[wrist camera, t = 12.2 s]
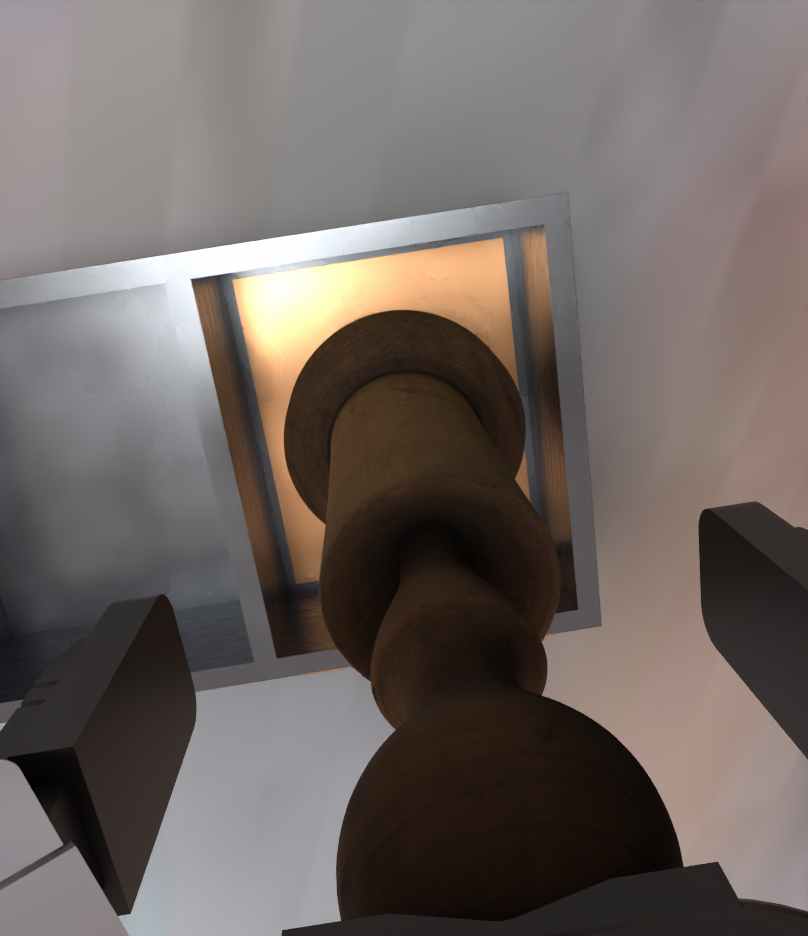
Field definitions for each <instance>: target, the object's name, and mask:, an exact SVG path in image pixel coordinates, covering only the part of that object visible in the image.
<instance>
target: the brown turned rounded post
mask: <svg viewBox="0 0 808 936" xmlns="http://www.w3.org/2000/svg"><path fill="white" fill-rule="evenodd" d="M525 439H526V421H525V414H524V408H523V404H522V400H521V397H520V394H519V391H518V389H517V386H516V384H515V382H514V380H513V379H512V377H511V375H510V373H509V372H508V370H507V369H506V367H505V366H504V365H503V363H502V362H501V361H500V360H499V358H498V357H497V356H496V355H495V354H494V353H493V352H492V351H491V350H490V349H489V347H488V346H487V345H486V344H485V343H484V342H483V341H482V340H480V339H479V338H478V337H477V336H476V335H474V334H473V333H472V332H470V331H469V330H468V329H466V328H465V327H463V326H461V325H459V324H458V323H456V322H454V321H452V320H449V319H447V318H444V317H442V316H439V315H435V314H432V313H427V312H422V311H415V310H392V311H385V312H380V313H376V314H372V315H369V316H366V317H363V318H361V319H358V320H356V321H354V322H352V323H350V324H348V325H346V326H344V327H343V328H341V329H339V330H338V331H336V332H335V333H334V334H332V335H331V336H330V337H329V338H328V339H327V340H325V341H324V342H323V343H322V344H321V345H320V346H319V347H318V348H317V349H316V350H315V352H314V353H313V354H312V355H311V357H310V358H309V359H308V361H307V362H306V364H305V365H304V367H303V369H302V370H301V372H300V374H299V376H298V378H297V380H296V382H295V385H294V388H293V390H292V394H291V397H290V401H289V405H288V409H287V413H286V418H285V424H284V452H285V459H286V464H287V468H288V472H289V475H290V477H291V480H292V482H293V485H294V487H295V489H296V491H297V492H298V494H299V496H300V497H301V499H302V500H303V502H304V503H305V504H306V506H307V507H308V508H309V509H310V511H311V512H312V513H313V514H314V515H315V516H316V517H317V518H318V519H319V520H321V521H322V522H323V523H324V524H325V534H324V542H323V550H322V558H321V566H320V576H319V601H320V607H321V613H322V617H323V620H324V623H325V626H326V628H327V631H328V633H329V635H330V637H331V639H332V641H333V643H334V644H335V646H336V648H337V649H338V650H339V652H340V653H341V654H342V656H343V657H344V658H345V659H346V660H347V662H348V663H349V664H350V665H351V666H352V667H353V668H354V669H355V670H357V671H358V672H359V673H360V674H361V675H362V676H364V677H365V678H366V679H368V680H369V681H371V687H372V693H373V696H374V699H375V701H376V704H377V706H378V708H379V710H380V712H381V713H382V715H383V716H384V718H385V719H386V720H387V721H388V722H389V723H390V724H391V726H392V727H394V728H395V729H396V731H395V732H393V733H392V734H391V736H390V737H389V738H388V739H387V740H386V741H385V742H384V743H383V744H382V746H381V747H380V748H379V749H378V751H377V752H376V753H375V754H374V756H373V757H372V759H371V760H370V762H369V763H368V765H367V767H366V768H365V770H364V772H363V773H362V775H361V777H360V779H359V781H358V783H357V785H356V787H355V789H354V791H353V793H352V796H351V798H350V800H349V803H348V806H347V809H346V813H345V816H344V820H343V823H342V828H341V833H340V837H339V844H338V852H337V864H336V878H337V897H338V905H339V911H340V917H341V921H345V920H351V919H358V918H364V917H370V916H377V915H383V914H402V915H416V916H429V917H443V918H456V919H470V920H483V921H505V920H510V919H513V918H516V917H519V916H521V915H524V914H526V913H529V912H531V911H533V910H536V909H538V908H541V907H543V906H546V905H548V904H550V903H553V902H555V901H558V900H560V899H562V898H565V897H567V896H570V895H572V894H575V893H577V892H579V891H582V890H584V889H587V888H589V887H592V886H594V885H596V884H599V883H601V882H604V881H606V880H609V879H611V878H618V877H624V876H630V875H637V874H643V873H649V872H656V871H662V870H669V869H675V868H681V867H683V862H682V856H681V851H680V847H679V842H678V839H677V835H676V832H675V830H674V827H673V824H672V821H671V819H670V816H669V814H668V811H667V809H666V807H665V805H664V803H663V801H662V799H661V797H660V795H659V793H658V791H657V789H656V787H655V786H654V784H653V782H652V781H651V779H650V777H649V776H648V774H647V773H646V772H645V770H644V769H643V767H642V766H641V765H640V763H639V762H638V761H637V759H636V758H635V757H634V756H633V755H632V754H631V752H630V751H629V750H628V749H627V748H626V747H625V746H624V745H623V744H622V743H621V742H620V741H619V740H618V739H617V738H616V737H615V736H614V735H612V734H611V733H610V732H609V731H608V730H606V729H605V728H604V727H602V726H601V725H600V724H598V723H597V722H595V721H594V720H592V719H591V718H589V717H587V716H586V715H584V714H582V713H581V712H579V711H577V710H575V709H573V708H571V707H569V706H567V705H565V704H563V703H560V702H558V701H555V700H552V699H550V698H547V697H544V696H542V693H543V691H544V688H545V684H546V679H547V658H546V653H545V650H544V647H543V644H542V640H543V639H544V637H545V635H546V634H547V632H548V630H549V628H550V626H551V624H552V621H553V618H554V616H555V613H556V610H557V607H558V602H559V596H560V585H561V576H560V565H559V560H558V556H557V552H556V548H555V545H554V543H553V540H552V538H551V536H550V534H549V531H548V529H547V528H546V526H545V524H544V523H543V521H542V520H541V518H540V516H539V515H538V513H537V512H536V510H535V509H534V507H533V506H532V504H531V503H530V501H529V500H528V498H527V497H526V495H525V494H524V492H523V491H522V489H521V488H520V486H519V485H518V483H517V482H516V480H515V478H516V476H517V473H518V471H519V468H520V465H521V462H522V458H523V453H524V448H525Z"/></svg>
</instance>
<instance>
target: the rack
mask: <svg viewBox="0 0 808 936" xmlns="http://www.w3.org/2000/svg"><path fill="white" fill-rule="evenodd" d="M392 310H415V311H422V312H427V313H432V314H435V315H439V316H442V317H444V318H447V319H449V320H452V321H454V322H456V323H458V324H459V325H461V326H463V327H465V328H466V329H468V330H469V331H470V332H472V333H473V334H474V335H476V336H477V337H478V338H479V339H480V340H482V341H483V342H484V343H485V344H486V345H487V346H488V347H489V349H490V350H491V351H492V352H493V353H494V354H495V355H496V356H497V357H498V358H499V360H500V361H501V362H502V363H503V365H504V366H505V367H506V369H507V370H508V372H509V373H510V375H511V377H512V379H513V380H514V382H515V384H516V386H517V389H518V391H519V394H520V397H521V400H522V404H523V408H524V414H525V421H526V439H525V448H524V453H523V458H522V462H521V465H520V468H519V471H518V473H517V476H516V478H515V480H516V482H517V483H518V485H519V486H520V488H521V489H522V491H523V492H524V494H525V495H526V497H527V498H528V500H529V501H530V503H531V504H532V506H533V507H534V509H535V510H536V512H537V513H538V515H539V516H540V518H541V520H542V521H543V523H544V524H545V526H546V528H547V529H548V531H549V534H550V536H551V538H552V540H553V543H554V545H555V548H556V552H557V556H558V560H559V565H560V576H561V585H560V596H559V602H558V607H557V610H556V613H555V616H554V618H553V621H552V624H551V626H550V628H549V630H548V632H547V634H546V635H545V636H549V635H556V634H557V633H561V632H567V631H574V630H580V629H586V628H592V627H598V626H602V623H601V611H600V598H599V585H598V572H597V559H596V546H595V533H594V520H593V507H592V495H591V482H590V469H589V456H588V443H587V430H586V417H585V404H584V391H583V379H582V366H581V353H580V340H579V327H578V314H577V301H576V288H575V276H574V263H573V250H572V237H571V224H570V211H569V198H568V193H561V194H555V195H548V196H542V197H536V198H529V199H523V200H516V201H510V202H503V203H497V204H491V205H484V206H478V207H471V208H465V209H458V210H452V211H445V212H439V213H433V214H426V215H420V216H413V217H407V218H400V219H394V220H387V221H381V222H375V223H368V224H362V225H355V226H349V227H342V228H336V229H329V230H323V231H317V232H310V233H304V234H297V235H291V236H284V237H278V238H272V239H265V240H259V241H252V242H246V243H239V244H233V245H226V246H220V247H214V248H207V249H201V250H194V251H188V252H181V253H175V254H168V255H162V256H156V257H149V258H143V259H136V260H130V261H123V262H117V263H111V264H104V265H98V266H91V267H85V268H78V269H72V270H65V271H59V272H53V273H46V274H40V275H33V276H27V277H20V278H14V279H7V280H1V281H0V723H6V722H8V720H9V719H10V717H11V716H12V715H13V713H14V712H15V711H16V709H17V708H20V707H21V702H22V701H23V699H24V698H25V697H26V695H27V694H28V692H29V691H30V690H31V689H32V688H35V683H36V681H37V680H38V679H39V677H40V676H41V674H42V673H43V672H44V670H45V669H46V668H47V666H48V665H49V663H50V662H51V661H52V660H53V659H55V658H56V657H57V656H59V655H60V654H61V653H62V652H64V651H65V650H66V649H68V648H69V647H70V646H71V645H73V644H74V643H75V642H77V641H78V640H80V639H87V637H88V636H89V634H90V633H91V631H92V630H93V628H94V627H95V625H96V624H97V622H98V621H99V619H100V618H101V616H102V615H103V613H104V612H105V611H106V609H107V608H108V606H109V605H110V604H111V603H112V602H115V601H121V600H127V599H134V598H140V597H146V596H153V595H159V594H164V595H165V596H167V598H168V599H169V601H170V603H171V605H172V607H173V611H174V614H175V618H176V621H177V625H178V629H179V632H180V636H181V640H182V643H183V647H184V651H185V654H186V658H187V662H188V665H189V669H190V672H191V676H192V680H193V684H194V688H195V692H197V691H203V690H209V689H216V688H222V687H228V686H234V685H240V684H246V683H253V682H259V681H265V680H271V679H277V678H283V677H290V676H296V675H302V674H303V675H309V674H315V673H321V672H327V671H333V670H340V669H346V668H352V666H351V665H350V664H349V663H348V662H347V660H346V659H345V658H344V657H343V656H342V654H341V653H340V652H339V650H338V649H337V648H336V646H335V644H334V643H333V641H332V639H331V637H330V635H329V633H328V631H327V628H326V626H325V623H324V620H323V617H322V613H321V607H320V601H319V576H320V566H321V558H322V550H323V542H324V534H325V524H324V523H323V522H322V521H321V520H319V519H318V518H317V517H316V516H315V515H314V514H313V513H312V512H311V511H310V509H309V508H308V507H307V506H306V504H305V503H304V502H303V500H302V499H301V497H300V496H299V494H298V492H297V491H296V489H295V487H294V485H293V482H292V480H291V477H290V475H289V472H288V468H287V464H286V459H285V452H284V424H285V418H286V413H287V409H288V405H289V401H290V397H291V394H292V390H293V388H294V385H295V382H296V380H297V378H298V376H299V374H300V372H301V370H302V369H303V367H304V365H305V364H306V362H307V361H308V359H309V358H310V357H311V355H312V354H313V353H314V352H315V350H316V349H317V348H318V347H319V346H320V345H321V344H322V343H323V342H324V341H325V340H327V339H328V338H329V337H330V336H331V335H332V334H334V333H335V332H336V331H338V330H339V329H341V328H343V327H344V326H346V325H348V324H350V323H352V322H354V321H356V320H358V319H361V318H363V317H366V316H369V315H372V314H376V313H380V312H385V311H392Z"/></svg>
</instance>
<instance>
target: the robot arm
mask: <svg viewBox="0 0 808 936" xmlns="http://www.w3.org/2000/svg"><path fill="white" fill-rule="evenodd" d="M699 554H700V584H701V608H702V614H703V619H704V623H705V626H706V630H707V632H708V635H709V637H710V639H711V641H712V643H713V644H714V646H715V647H716V649H717V650H718V651H719V652H720V653H721V655H722V656H723V657H724V658H725V660H726V661H727V662H728V663H729V664H730V666H731V667H732V668H733V669H734V670H735V672H736V673H737V674H738V675H739V677H740V678H741V679H742V680H743V681H744V683H745V684H746V685H747V686H748V687H749V689H750V690H751V691H752V692H753V693H754V695H755V696H756V697H757V698H758V700H759V701H760V702H761V703H762V704H763V706H764V707H765V708H766V709H767V710H768V712H769V713H770V714H771V715H772V717H773V718H774V719H775V720H776V721H777V723H778V724H779V725H780V726H781V727H782V729H783V730H784V731H785V732H786V733H787V735H788V736H789V737H790V738H791V740H792V741H793V742H794V743H795V744H796V746H797V747H798V748H799V749H800V750H801V752H802V753H803V754H804V755H805V757H806V758H807V759H808V530H807V529H804V528H801V527H797V528H794V527H793V526H792V525H790V524H789V523H787V522H786V521H784V520H783V519H782V518H780V517H779V516H777V515H776V514H775V513H773V512H772V511H770V510H769V509H768V508H766V507H765V506H763V505H762V504H760V503H759V502H755V501H754V502H748V503H741V504H735V505H729V506H722V507H716V508H710V509H705V510H703V511H702V513H701V515H700V519H699ZM195 721H196V695H195V688H194V684H193V680H192V676H191V672H190V669H189V665H188V662H187V658H186V654H185V651H184V647H183V643H182V640H181V636H180V632H179V629H178V625H177V621H176V618H175V614H174V611H173V607H172V605H171V603H170V601H169V599H168V598H167V596H165V595H164V594H159V595H153V596H146V597H140V598H134V599H127V600H121V601H115V602H112V603H111V604H110V605H109V606H108V608H107V609H106V611H105V612H104V613H103V615H102V616H101V618H100V619H99V621H98V622H97V624H96V625H95V627H94V628H93V630H92V631H91V633H90V634H89V636H88V637H87V639H80V640H78V641H77V642H75V643H74V644H73V645H71V646H70V647H69V648H68V649H66V650H65V651H64V652H62V653H61V654H60V655H59V656H57V657H56V658H55V659H53V660H52V661H51V662H50V663H49V665H48V666H47V668H46V669H45V670H44V672H43V673H42V674H41V676H40V677H39V679H38V680H37V681H36V683H35V688H32V689H31V690H30V691H29V692H28V694H27V695H26V697H25V698H24V699H23V701H22V702H21V707H20V708H17V709H16V711H15V712H14V713H13V715H12V716H11V717H10V719H9V720H8V722H7V723H6V724H5V726H4V727H3V729H2V730H1V731H0V936H129V935H128V933H127V931H126V930H125V928H124V926H123V924H122V923H121V921H120V919H119V918H118V916H120V915H126V914H131V911H132V908H133V905H134V902H135V899H136V896H137V893H138V890H139V887H140V885H141V882H142V879H143V876H144V873H145V870H146V867H147V864H148V861H149V858H150V855H151V852H152V849H153V847H154V844H155V841H156V838H157V835H158V832H159V829H160V826H161V823H162V820H163V817H164V814H165V811H166V808H167V806H168V803H169V800H170V797H171V794H172V791H173V788H174V785H175V782H176V779H177V776H178V773H179V770H180V768H181V765H182V762H183V759H184V756H185V753H186V750H187V747H188V744H189V741H190V738H191V735H192V732H193V730H194V726H195ZM282 936H808V911H804V910H800V909H796V908H793V907H789V906H785V905H781V904H776V903H770V902H764V901H758V900H751V899H740V898H738V897H737V896H736V894H735V892H734V890H733V888H732V886H731V885H730V883H729V881H728V879H727V877H726V876H725V874H724V872H723V870H722V868H721V867H720V865H719V863H718V862H713V863H707V864H700V865H694V866H688V867H681V868H675V869H669V870H662V871H656V872H649V873H643V874H637V875H630V876H624V877H618V878H611V879H609V880H606V881H604V882H601V883H599V884H596V885H594V886H592V887H589V888H587V889H584V890H582V891H579V892H577V893H575V894H572V895H570V896H567V897H565V898H562V899H560V900H558V901H555V902H553V903H550V904H548V905H546V906H543V907H541V908H538V909H536V910H533V911H531V912H529V913H526V914H524V915H521V916H519V917H516V918H513V919H510V920H505V921H483V920H470V919H456V918H443V917H429V916H416V915H402V914H383V915H377V916H370V917H364V918H358V919H351V920H345V921H338V922H332V923H326V924H319V925H313V926H307V927H300V928H294V929H288V930H282Z"/></svg>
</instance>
